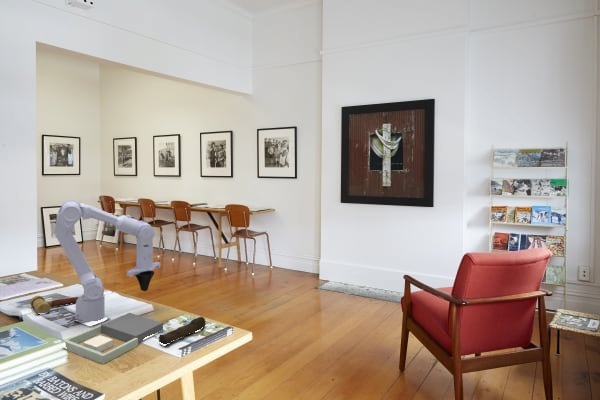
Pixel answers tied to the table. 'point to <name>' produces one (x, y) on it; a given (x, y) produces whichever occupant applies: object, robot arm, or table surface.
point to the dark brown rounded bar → (183, 330)
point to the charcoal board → (131, 327)
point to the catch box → (92, 354)
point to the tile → (99, 343)
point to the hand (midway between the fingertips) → (144, 290)
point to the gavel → (49, 303)
